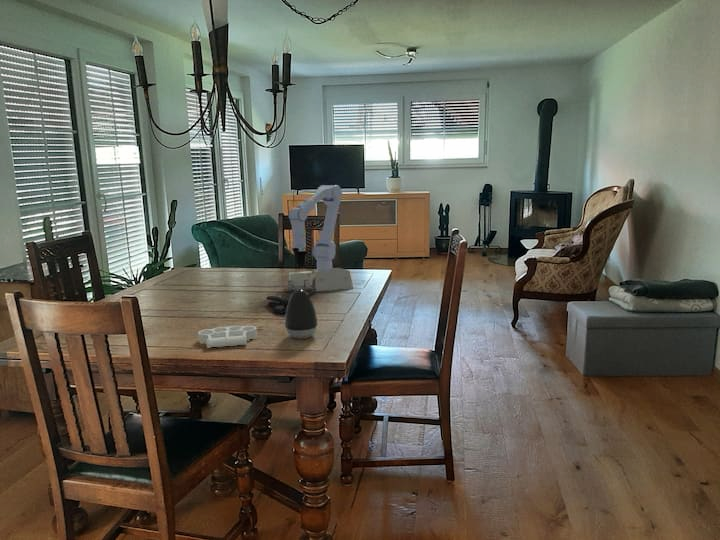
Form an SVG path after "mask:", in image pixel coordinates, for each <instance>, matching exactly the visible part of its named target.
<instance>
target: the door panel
mask: <svg viewBox="0 0 720 540" xmlns="http://www.w3.org/2000/svg"><path fill="white" fill-rule="evenodd" d="M288 276H289V280H293V282H294V286H304V279H309V281H310V285H311V286H313V284H314V283H313V272H312V271H311V270H309V271H308V270H307V271H293V272H289V273H288Z"/></svg>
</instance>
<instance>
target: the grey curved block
mask: <svg viewBox="0 0 720 540" xmlns="http://www.w3.org/2000/svg"><path fill="white" fill-rule="evenodd" d="M314 275H315V276H314V290H315V291H316V292H325V291H327V290H328V291H339V289H343V290H353V289H354V285H353V280H352V275H351V272H350V270H349V269H345V268H340V267H332V268H328V269H324V270H321V271H318V272H317V271H316V272H315V274H314ZM352 288H353V289H352Z"/></svg>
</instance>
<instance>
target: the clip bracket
mask: <svg viewBox="0 0 720 540" xmlns="http://www.w3.org/2000/svg"><path fill="white" fill-rule="evenodd" d="M312 286H313V285H310V281H309V279H304V286H294V282H293V280H288V279H287V286H285V291H286V293H288V294H289V293H293V292H295V291H296V290H304V291H306V292H313V291H314V288H313V287H312Z"/></svg>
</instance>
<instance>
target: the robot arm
mask: <svg viewBox="0 0 720 540" xmlns="http://www.w3.org/2000/svg"><path fill="white" fill-rule="evenodd" d="M342 195H343V192H342V188H341V187H340V185H338V184H335V185H333V184H332V185H331V184H330V185H326V184H325V185H324V184H322V185H319V187H317V190H316V192H315V193H314V194H312V196H311V197H310V198H303V200H302V201H301V202H300V203H299V204H297V206H295V207H292V208H290V210H289V211H288V214H287V216H288V217H287V218H288V219H289V221H290V225H291V233H292V234H291V237H292V244H290V245H289V247H291V250H292V252H293V254H294V259H295V262H296V264H297V265H298V267H305V261H306V256H307V253H308V251H307V250H305V248H306V247H307V243H306V224H305V221H306V220H307V219H308V215H309V214H310V213H311V212H312V211H313V210H314V209H315V207H316V204H317V203H320V201H322V202H323V203H324V204H325V205H326V213H325V217H324V222H323V226H322V230H321V235H320V238H319V239H318V240H316V241H315V243H314V244H315V245H314V247H313V249H312V255H313V257H314V259H315V260H316V273H317V272H318V271H321V270H324V269H328V268H333V260H334V258H335V256H336V246H337V245H336V244H335V242H334V240H333V237H334V232H335V227H336V222H337V217H338V213H339V208H340V204H341V201H342V200H341V198H342Z"/></svg>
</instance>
